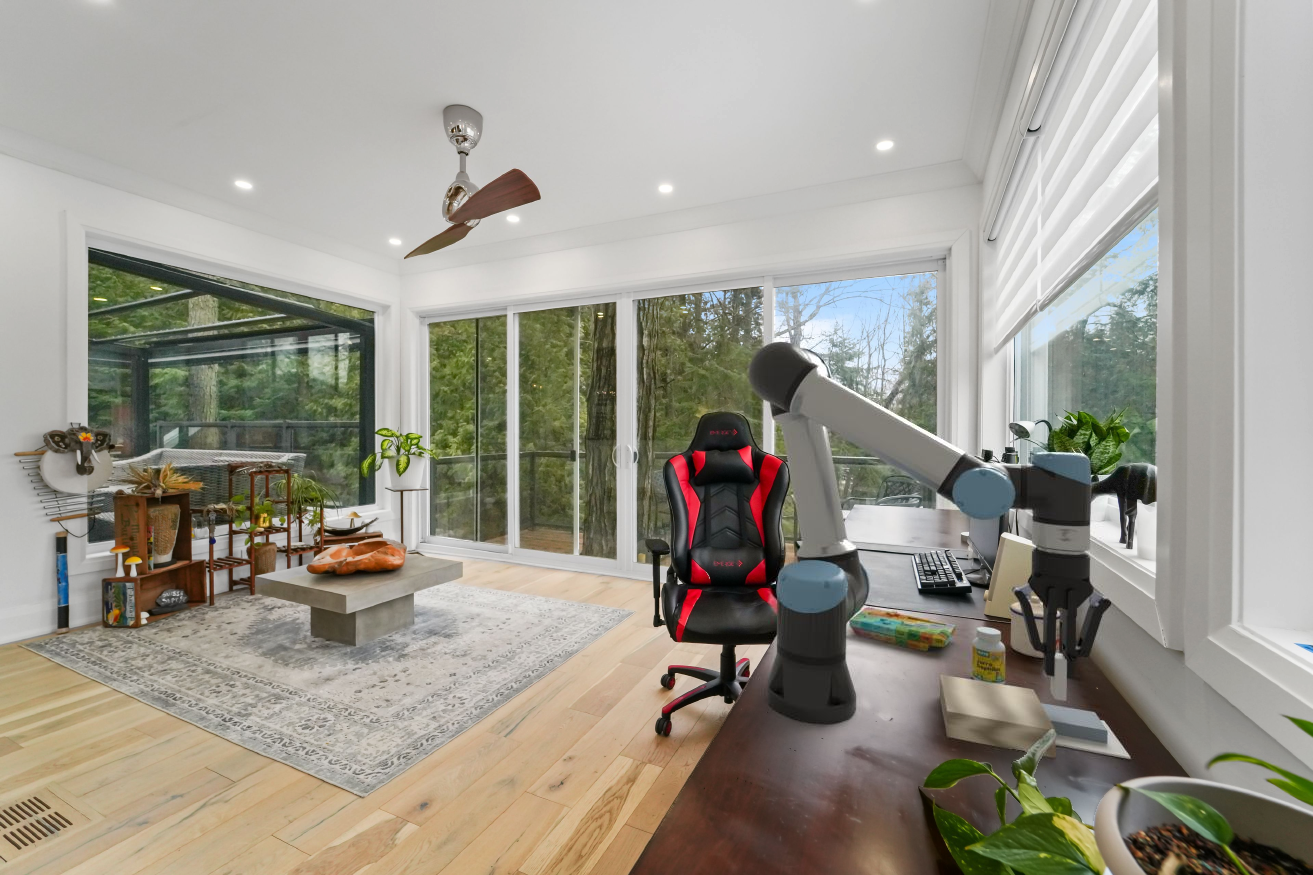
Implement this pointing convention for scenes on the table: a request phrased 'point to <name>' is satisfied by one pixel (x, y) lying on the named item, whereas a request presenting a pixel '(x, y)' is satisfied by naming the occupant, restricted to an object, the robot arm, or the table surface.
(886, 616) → the puzzle game
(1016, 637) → the teacup with lid
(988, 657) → the supplement bottle
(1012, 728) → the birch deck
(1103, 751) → the white mat
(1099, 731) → the slate tile
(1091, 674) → the table surface
